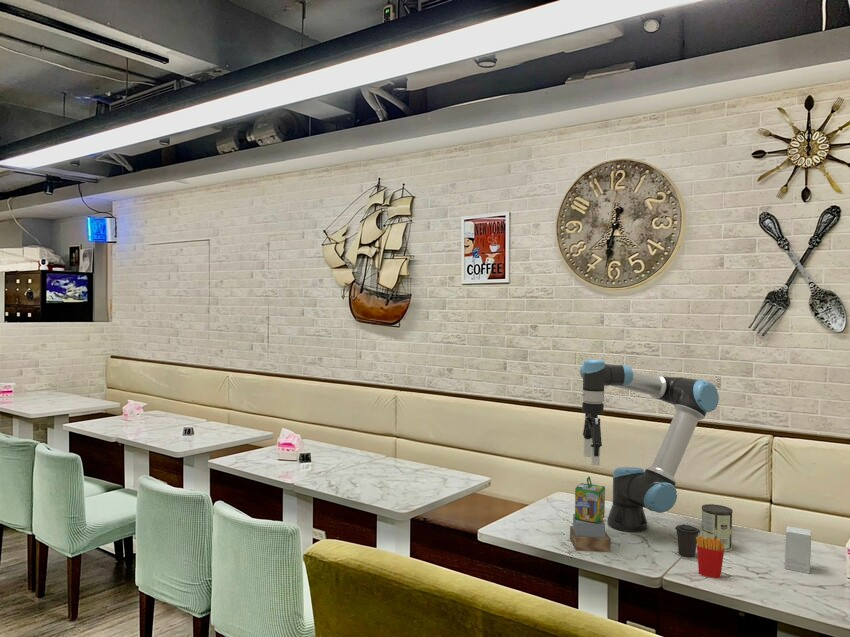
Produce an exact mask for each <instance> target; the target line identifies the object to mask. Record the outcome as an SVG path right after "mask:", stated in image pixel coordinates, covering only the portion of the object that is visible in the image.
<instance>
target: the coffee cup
mask: <svg viewBox="0 0 850 637" xmlns="http://www.w3.org/2000/svg"><path fill="white" fill-rule="evenodd" d="M675 530H676V540H677V550H678V551H677V552H678V555H679V556H680V557H683V558H687V559H693V558H695V557H696V554H697V540H696V537H698V538H699V533H701V530H700V529H699V528H698V527H695V526H694V525H693V526H692V525H689V524H685V523H684V524H678V525H676V527H675Z"/></svg>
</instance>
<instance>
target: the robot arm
mask: <svg viewBox="0 0 850 637" xmlns="http://www.w3.org/2000/svg"><path fill="white" fill-rule="evenodd" d="M579 375H580V377H581V379H582V392H581V393H580V395H581V396H582V401H583V402H582V404H581V412H582V413H583V414H585V417H584V418H585V419H584V426H583V431H582V436H583V438H584V439H583V457H584V458H591V463H590V464H591V466H599V467H600V463H601V459H600V457H601V447H603V444H602V443H603V442H602V431H601V430H602V428H601V418H600V417H599V418H598V415H603V414H604V412H605V411H604V409H605V408H604V406H605V404H604V402H605V387H606V386H610V387H614V388H619V389H624V390H628V391H631V392H636V393H640V394H645V395H649V396H650V397H651V398H652V399H655V400H659V401H662V402H666V403H667V404H671V405H673V406H674V409H675V413H674V414H673V417H672V419H671V422H670V424H669V426H668V429H667V430H666V433H665V436H664V437H663V440H662V441H661V442H662V443H661V444H660V447H659V450H658V451H657V453H656V456H655V458H654V461H653V462H652V465H651V466H650V467H646V468H645V469H644V468H642V467H633V466H632V467H631V466H630V467H629V466H628V467H626V466H624V467H617V468H615V469H614V471H613V476H612V504H611V507H610V511H609V512H608V513H609V514H608V516H607V526H609V527H610V528H613V529H614V530H619V531H622V532H631V533H638V532H645V531H647V530H648V520H647V517H646V514H645V510H644V508H645V509H646V510H648V511H651V512H656V513H661V514H662V513H666V512H668V511H669V510H671V509H672V508H673V507H674V506H675V504H676V502H677V499H678V494H677V491H678V490H677V488H676V487H675V486H676V484H677V482H676V480H675V475H676V473H677V471H678V469H679V466H680V464H681V462H682V459H683V457H684V455H685V452H686V450H687V448H688V445H689V444H690V441H691V439H692V436H693V434H694V431H695V429H696V427H697V425H698V422H699V421H700V420H701V421H702V420H704V419H705V417H706V415H707V413H710V412H711V413H712V411H715V410H716V408H717V407H718V405H719V402H720V401H719V400H720V398H719V397H720V396H719V393H718V389H717V387H716V385H714V384H713V383H712V382H710V381H708V380H703V379H696V378H695V379H694V378H688V377H678V376H663V375H660V374H659V375H655V376H653V375H648V374H644V373H640V372H637V371H636V372H635V371H633V369H632V368H631V366H629V365H625V364H610V363H606V361H605V360H603V359H585V360H584V362H583V363H582V365H581V366H580V369H579Z"/></svg>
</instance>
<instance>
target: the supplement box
mask: <svg viewBox="0 0 850 637" xmlns="http://www.w3.org/2000/svg"><path fill="white" fill-rule="evenodd" d="M784 542H785V545H784V569H785V570H789V571H790V570H791V571H794V572H799V573H805V574H810V572H811V552H812V530H811V529H806V528H801V527H793V526H789V525H787V526H786V529H785V540H784Z"/></svg>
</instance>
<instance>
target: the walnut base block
mask: <svg viewBox="0 0 850 637" xmlns="http://www.w3.org/2000/svg"><path fill="white" fill-rule="evenodd" d="M569 532H570V533H569V540H570V541H571V543H572V546H573V548H574V549H575V551H576V552H577V551H580V552H595V553H596V552H598V553H611V545H612V544H611V543H612V542H611V540H612V539H611V537H610V536H609V534H608V533H607V531H606V530H605V538H592V537H577V536H576V535H575V532H574V529H573V525H572V526H570V528H569Z"/></svg>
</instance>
